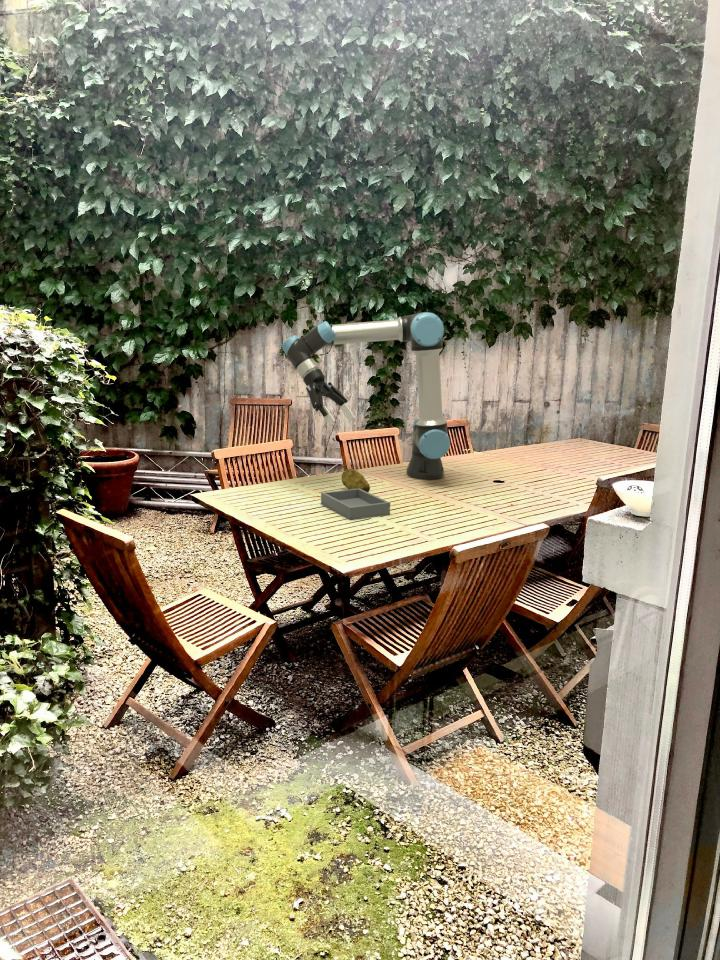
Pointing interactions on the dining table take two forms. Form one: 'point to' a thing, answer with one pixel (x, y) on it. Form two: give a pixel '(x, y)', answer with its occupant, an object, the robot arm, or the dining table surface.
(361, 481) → the potato
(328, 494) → the tray
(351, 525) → the dining table surface
